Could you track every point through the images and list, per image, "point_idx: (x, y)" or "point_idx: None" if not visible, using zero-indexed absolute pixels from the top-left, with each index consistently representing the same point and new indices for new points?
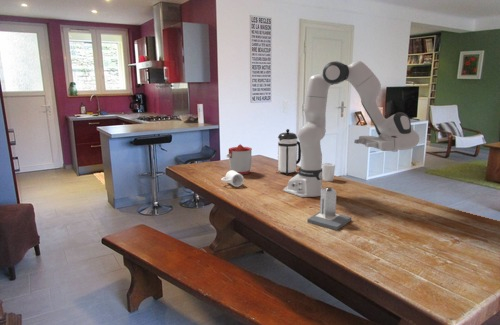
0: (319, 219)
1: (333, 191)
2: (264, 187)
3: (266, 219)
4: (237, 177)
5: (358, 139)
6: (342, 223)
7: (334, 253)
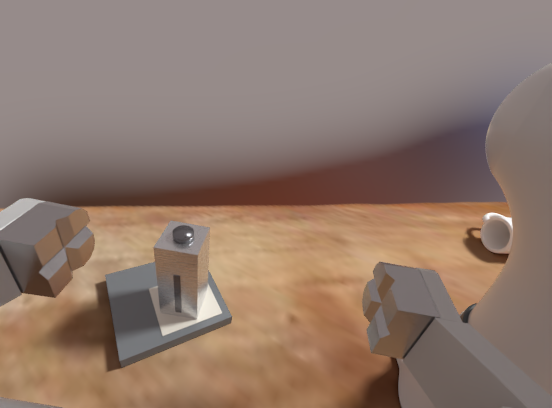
0: None
1: (159, 239)
2: None
3: (256, 211)
4: None
5: (448, 323)
6: (110, 302)
7: None
